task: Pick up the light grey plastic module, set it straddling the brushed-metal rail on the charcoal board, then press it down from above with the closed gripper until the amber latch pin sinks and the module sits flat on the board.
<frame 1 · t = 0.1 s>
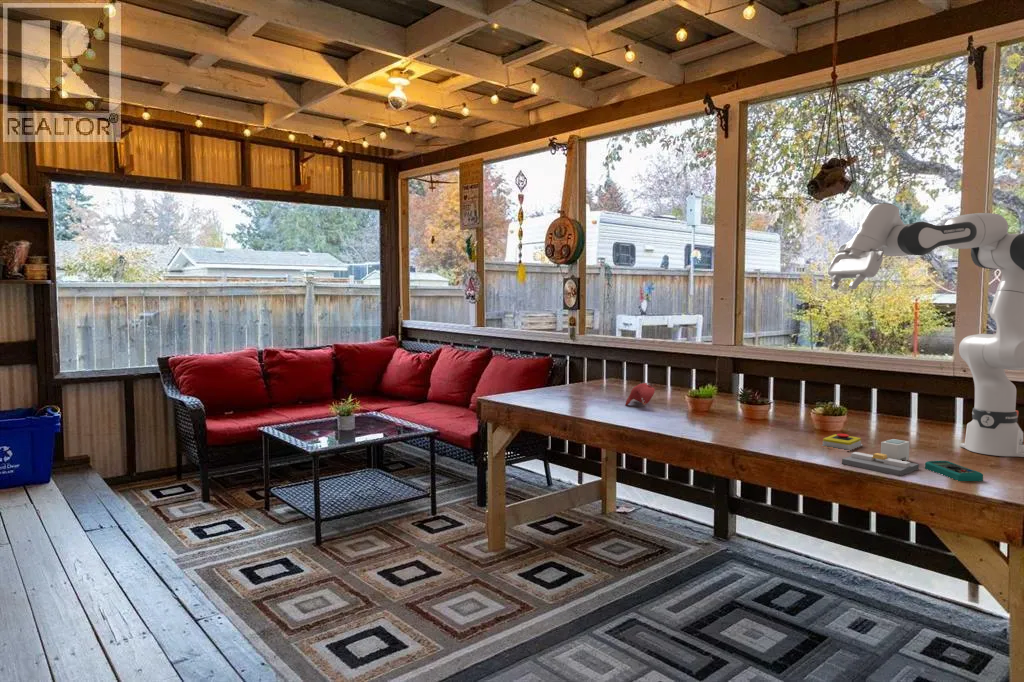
hand: (842, 288, 209), 54 cm above the table, tool tilted 30°, fingers open, 8 cm apart
decorative bird sculpture: (638, 406, 312), on the table
latch pin: (880, 456, 202), point 3 cm above the table, slide at 0.0 cm
module: (894, 460, 209), on the table
digital multimeter: (952, 476, 193), on the table
rail board: (879, 466, 202), on the table
emergency button: (841, 448, 229), on the table
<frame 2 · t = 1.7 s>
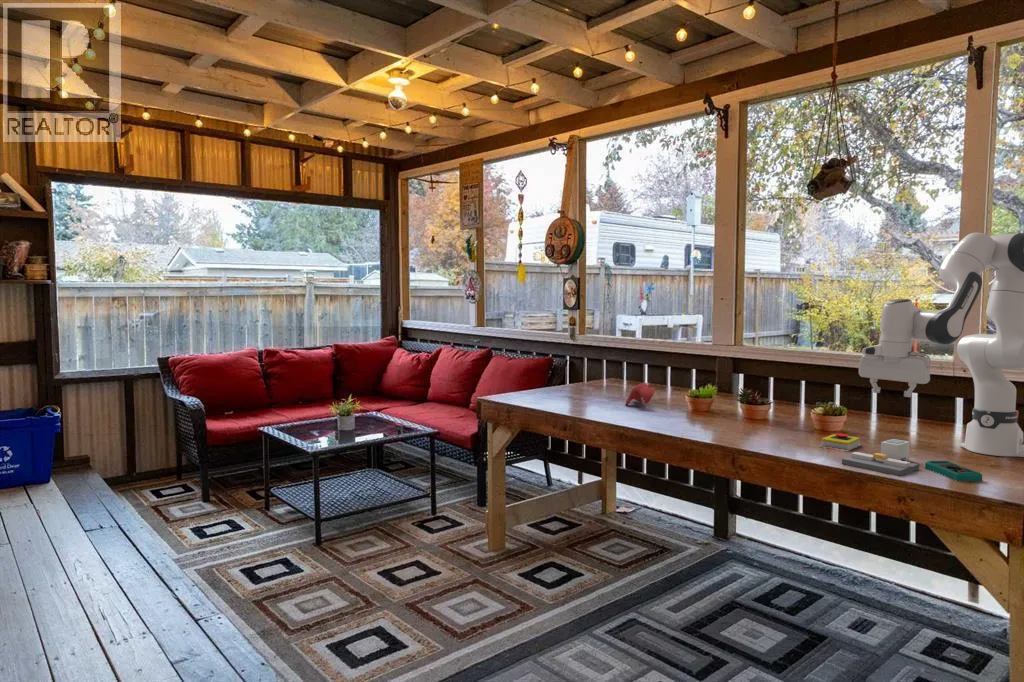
hand: (891, 394, 208), 21 cm above the table, tool pointing down, fingers open, 8 cm apart
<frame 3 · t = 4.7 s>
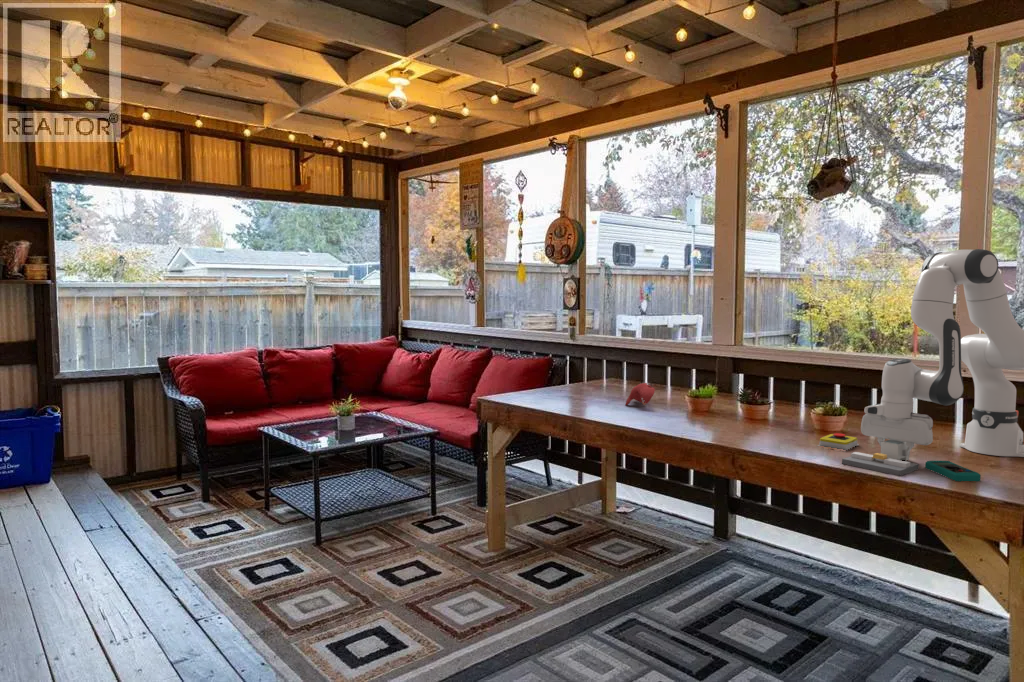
hand: (894, 453, 209), 2 cm above the table, tool pointing down, fingers closed on module, 5 cm apart
module: (894, 460, 209), on the table, touching gripper
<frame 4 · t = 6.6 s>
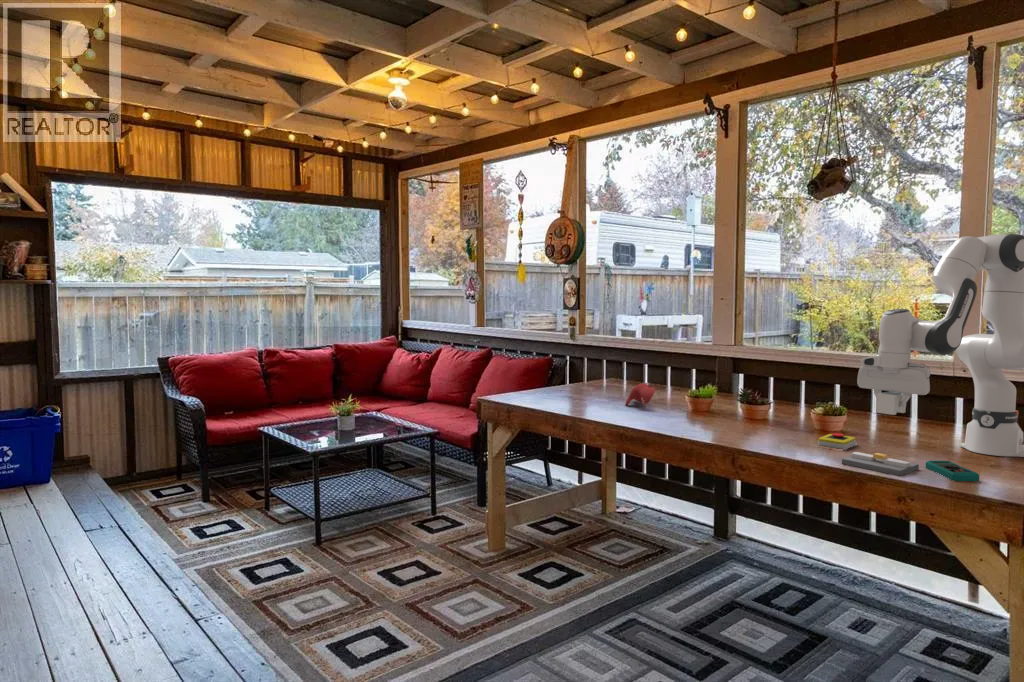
hand: (891, 405, 206), 18 cm above the table, tool pointing down, fingers closed on module, 5 cm apart
module: (890, 412, 206), point 16 cm above the table, touching gripper
when the fingers open (6 cm above the table, at t = 8.9 s): module drops 2 cm, resting on rail board.
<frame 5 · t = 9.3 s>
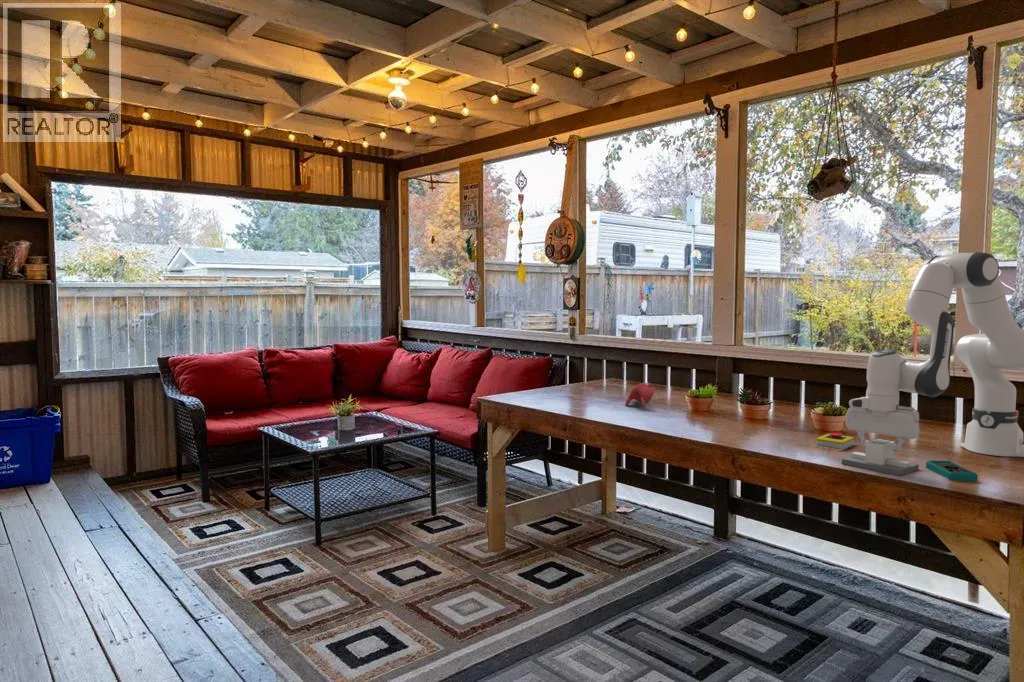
hand: (880, 448, 202), 6 cm above the table, tool pointing down, fingers open, 8 cm apart
latch pin: (879, 459, 202), point 2 cm above the table, slide at 0.9 cm
module: (879, 461, 202), point 1 cm above the table, touching rail board
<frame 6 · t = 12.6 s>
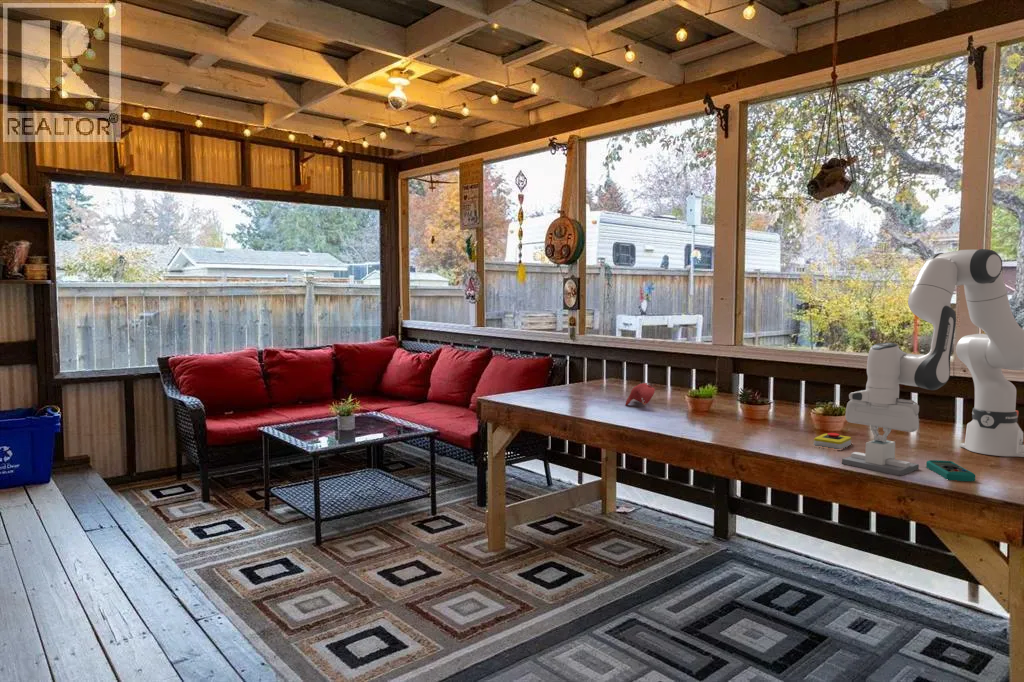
hand: (880, 441, 202), 8 cm above the table, tool pointing down, fingers closed, pressing on module
module: (879, 461, 202), point 2 cm above the table, touching gripper, rail board
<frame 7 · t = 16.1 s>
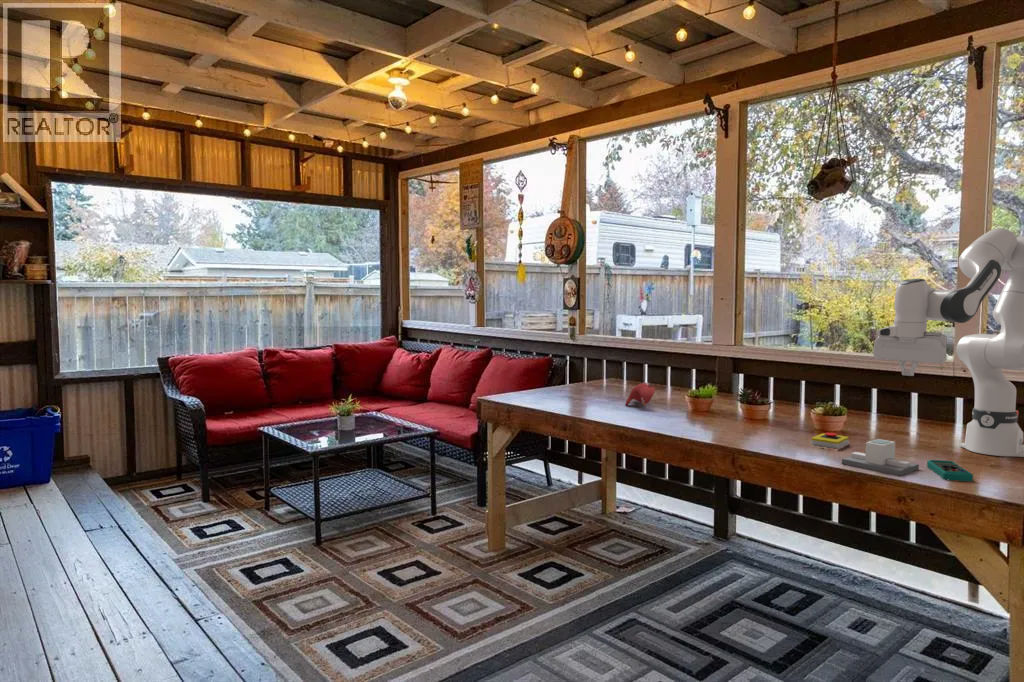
hand: (907, 375, 207), 27 cm above the table, tool pointing down, fingers closed
module: (879, 461, 202), point 1 cm above the table, touching rail board
at the end: module 0.0 cm off-centre on the rail board, point 1.5 cm above the rail board's base; latch pin slide at 0.9 cm; module tilted 0° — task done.
